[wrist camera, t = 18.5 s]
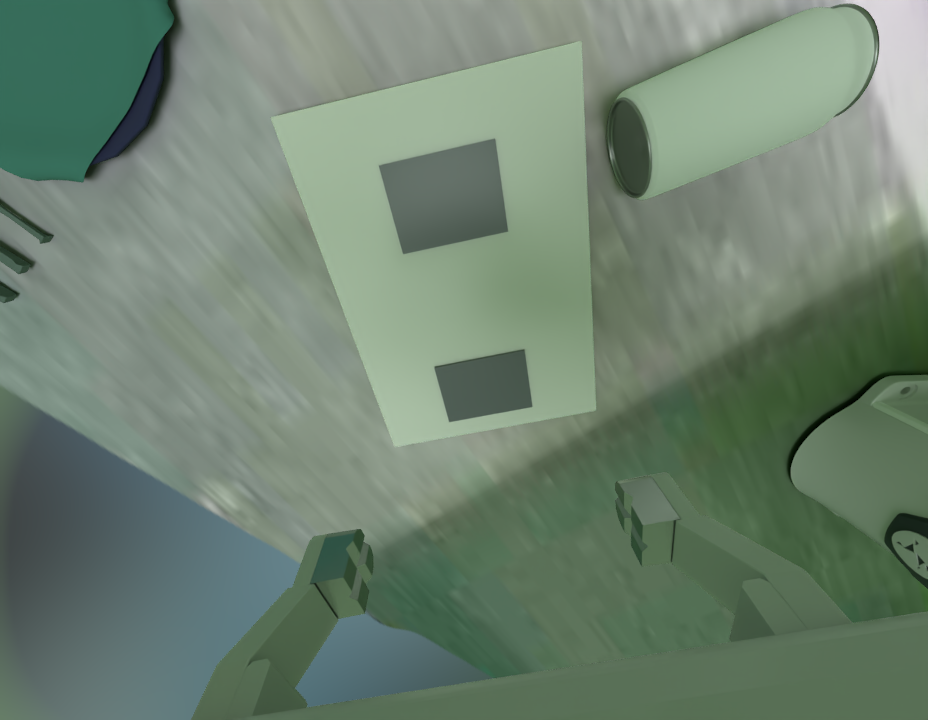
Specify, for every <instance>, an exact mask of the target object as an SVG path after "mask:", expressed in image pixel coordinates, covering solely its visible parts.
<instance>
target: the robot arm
mask: <svg viewBox="0 0 928 720" xmlns="http://www.w3.org/2000/svg"><path fill="white" fill-rule="evenodd" d="M791 479H792V482H793V484H794V486H795V487H796V488H797V489H798V490H799V491H800V492H802V493H803V494H805V495H807V496H809V497H810V498H812V499H814V500H816V501H817V502H819V503H821V504H822V505H824V506H825V507H826V508H828V509H829V510H830V511H831V512H833V513H834V514H835V515H837V516H840V517H842V518H843V519H845V520H846V521H848V522H849V523H850V524H852V525H853V526H854V527H856V528H857V529H859V530H860V531H861V532H863V533H864V534H865V535H867V536H868V537H870V538H871V539H872V540H874V541H875V542H876V543H878V544H879V545H880V546H882V547H883V548H885V549H886V550H887V551H889V552H890V553H892V554H893V555H894V556H896V557H897V559H898V560H899V561H900V562H901V563H902V564H903V565H904V566H905V567H906V568H907V569H908V570H909V572H910V573H911V574H912V575H913V576H914V577H915V578H916V579H917V580H918V581H919V582H920V583H922V584H923V585H924V586H925V587H926V588H927V589H928V375H898V376H888V377H885V378H883V379H881V380H880V381H878V382H877V383H876V384H874V385H873V386H872V387H871V388H870V389H869V390H868V391H867V392H866V393H865V394H864V395H863V396H862V397H861V398H860V399H858V400H857V401H856V402H855V403H853V404H852V405H850V406H848V407H847V408H845V409H843V410H842V411H840V412H838V413H837V414H835V415H834V416H832V417H830V418H829V419H828V420H826V421H825V422H824V423H822V424H821V425H820V426H819V427H817V428H816V429H815V430H814V431H813V432H812V433H811V434H810V435H809V436H808V437H807V438H806V440H805V441H804V442H803V443H802V445H801V446H800V448H799V449H798V451H797V452H796V454H795V456H794V459H793V462H792V465H791ZM615 491H616V493H617V495H618V498H617V499H616V500H615V502H616V511H617V515H618V518H619V521H620V524H621V526H622V528H623V530H624V532H625V533H627V534H628V535H629V536H631V546H632V548H633V550H634V552H635V554H636V556H637V558H638V560H639V562H640V564H641V566H642V567H644V566H651V565H659V564H666V563H672V565H674V566H675V567H676V568H677V569H678V570H680V571H681V572H682V573H683V574H685V575H686V576H687V577H688V578H690V579H691V580H692V581H693V582H695V583H696V584H697V585H698V586H700V587H701V588H702V589H703V590H705V591H706V592H707V593H708V594H709V595H711V596H712V597H713V598H714V599H716V600H717V601H718V602H719V603H721V604H722V605H723V606H724V607H726V608H727V609H728V610H729V611H731V612H732V613H733V614H734V615H735V617H734V621H733V625H732V629H731V634H730V638H729V639H730V641H731V642H728V643H722V644H715V645H709V646H702V647H696V648H690V649H683V650H677V651H670V652H664V653H657V654H651V655H644V656H637V657H631V658H624V659H618V660H611V661H605V662H598V663H592V664H585V665H579V666H572V667H566V668H559V669H553V670H546V671H540V672H533V673H527V674H520V675H514V676H507V677H501V678H494V679H488V680H482V681H475V682H469V683H462V684H456V685H450V686H443V687H436V688H430V689H423V690H417V691H411V692H404V693H397V694H391V695H385V696H378V697H372V698H365V699H359V700H353V701H346V702H340V703H333V704H326V705H320V706H314V707H307V703H306V700H305V699H304V698H303V697H302V696H301V694H300V693H299V692H298V691H297V690H296V689H295V687H296V685H297V684H298V683H299V681H300V679H301V678H302V676H303V675H304V673H305V672H306V670H307V669H308V667H309V665H310V664H311V662H312V661H313V659H314V657H315V656H316V655H317V653H318V651H319V650H320V648H321V647H322V645H323V644H324V642H325V641H326V639H327V637H328V636H329V634H330V633H331V631H332V630H333V628H334V627H335V625H336V623H337V622H338V619H340V618H344V617H350V616H355V615H360V614H365V610H366V605H367V600H368V595H369V589H368V588H367V586H366V583H367V582H368V581H369V579H370V578H371V577H372V573H373V553H372V550H371V547H370V545H369V544H367V543H365V542H363V541H364V534H363V532H362V530H361V529H356V530H350V531H343V532H337V533H330V534H325V535H319V536H314V537H313V538H312V539H311V540H310V542H309V544H308V547H307V549H306V552H305V555H304V557H303V560H302V563H301V565H300V568H299V571H298V573H297V576H296V579H295V582H294V584H293V587H292V588H288V589H287V590H286V591H285V592H284V593H283V594H282V595H281V597H279V598H278V600H277V601H276V602H275V603H274V604H273V605H272V606H271V607H270V608H269V609H268V610H267V611H266V612H265V614H264V615H263V616H262V617H261V618H260V619H259V620H258V621H257V622H256V623H255V624H254V625H253V627H252V628H251V629H250V630H249V631H248V632H247V633H246V634H245V635H244V636H243V637H242V639H241V640H240V641H239V642H238V643H237V644H236V645H235V646H234V647H233V648H232V649H231V650H230V651H229V653H228V654H227V655H226V656H225V657H224V658H223V659H222V660H221V661H220V662H219V663H218V665H217V666H216V668H215V670H214V672H213V674H212V676H211V679H210V681H209V683H208V685H207V687H206V689H205V691H204V693H203V696H202V698H201V700H200V702H199V705H198V706H197V708H196V710H195V713H194V715H193V717H192V719H191V720H928V612H922V613H915V614H909V615H902V616H896V617H889V618H883V619H876V620H870V621H864V622H857V623H852V622H851V621H850V620H849V619H848V618H847V616H846V615H845V614H844V613H843V612H842V611H841V610H840V609H839V608H838V606H837V605H836V604H835V603H834V602H833V601H832V600H831V599H830V598H829V596H828V595H827V594H826V593H825V592H824V591H823V590H822V589H821V588H820V586H819V585H818V584H817V583H816V582H815V581H814V580H813V579H812V578H811V576H810V575H809V574H808V573H807V572H806V571H805V570H804V569H802V568H800V567H799V566H797V565H795V564H793V563H791V562H790V561H788V560H786V559H784V558H782V557H781V556H779V555H777V554H775V553H773V552H771V551H770V550H768V549H766V548H764V547H762V546H761V545H759V544H757V543H755V542H753V541H751V540H750V539H748V538H746V537H744V536H742V535H741V534H739V533H737V532H735V531H733V530H731V529H730V528H728V527H726V526H724V525H722V524H721V523H719V522H717V521H715V520H713V519H712V518H710V517H708V516H706V515H705V516H700V515H699V513H698V512H697V511H696V509H695V508H694V507H693V505H692V504H691V503H690V501H689V500H688V499H687V497H686V496H685V495H684V493H683V492H682V491H681V489H680V488H679V487H678V485H677V484H676V483H675V481H674V480H673V479H672V477H671V476H670V475H669V474H668V473H666V472H664V473H659V474H653V475H649V476H648V475H647V476H641V477H636V478H631V479H626V480H621V481H616V483H615Z"/></svg>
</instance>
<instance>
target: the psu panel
mask: <svg viewBox="0 0 928 720" xmlns="http://www.w3.org/2000/svg"><path fill="white" fill-rule="evenodd" d="M271 120H272V123H273V125H274V128H275V131H276V133H277V136H278V139H279V141H280V144H281V147H282V149H283V152H284V155H285V157H286V160H287V163H288V165H289V168H290V171H291V173H292V176H293V179H294V181H295V184H296V187H297V189H298V192H299V194H300V197H301V200H302V202H303V205H304V208H305V210H306V213H307V216H308V218H309V221H310V224H311V226H312V229H313V232H314V234H315V237H316V240H317V242H318V245H319V248H320V250H321V253H322V256H323V258H324V261H325V264H326V266H327V269H328V271H329V274H330V277H331V279H332V282H333V285H334V287H335V290H336V293H337V295H338V298H339V301H340V303H341V306H342V309H343V311H344V314H345V317H346V319H347V322H348V325H349V327H350V330H351V333H352V335H353V338H354V341H355V343H356V346H357V349H358V351H359V354H360V356H361V359H362V362H363V364H364V367H365V370H366V372H367V375H368V378H369V380H370V383H371V386H372V388H373V391H374V394H375V396H376V399H377V402H378V404H379V407H380V410H381V412H382V415H383V418H384V420H385V423H386V426H387V428H388V431H389V433H390V436H391V439H392V441H393V444H394V447H398V446H403V445H409V444H414V443H420V442H426V441H431V440H437V439H442V438H448V437H453V436H459V435H464V434H470V433H475V432H481V431H487V430H492V429H498V428H503V427H509V426H514V425H520V424H525V423H531V422H536V421H542V420H547V419H553V418H559V417H564V416H570V415H575V414H581V413H586V412H592V411H596V390H595V365H594V340H593V315H592V290H591V265H590V240H589V215H588V190H587V165H586V140H585V115H584V90H583V65H582V41H579V42H575V43H571V44H567V45H563V46H559V47H555V48H550V49H546V50H542V51H538V52H534V53H530V54H526V55H522V56H518V57H514V58H510V59H506V60H502V61H498V62H494V63H490V64H485V65H481V66H477V67H473V68H469V69H465V70H461V71H457V72H453V73H449V74H445V75H441V76H437V77H433V78H429V79H425V80H420V81H416V82H412V83H408V84H404V85H400V86H396V87H392V88H388V89H384V90H380V91H376V92H372V93H368V94H364V95H360V96H355V97H351V98H347V99H343V100H339V101H335V102H331V103H327V104H323V105H319V106H315V107H311V108H307V109H303V110H299V111H295V112H290V113H286V114H282V115H278V116H274V117H271Z"/></svg>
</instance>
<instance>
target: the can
mask: <svg viewBox="0 0 928 720" xmlns="http://www.w3.org/2000/svg"><path fill="white" fill-rule="evenodd" d="M878 54H879V35H878V30H877V26H876V24H875V21H874V19H873V18H872V16H871V15H870V14H869V12H868V11H866V10H865V9H864V8H862V7H861V6H858V5H855V4H839V5H836V6H833V7H831V8H825V7H819V8H812V9H808V10H805V11H802V12H799V13H797V14H795V15H792V16H790V17H787V18H785V19H783V20H781V21H778V22H776V23H774V24H771V25H769V26H767V27H764V28H762V29H760V30H758V31H755V32H753V33H751V34H749V35H746V36H744V37H742V38H740V39H737V40H735V41H733V42H731V43H728V44H726V45H724V46H722V47H719V48H717V49H715V50H713V51H710V52H708V53H706V54H704V55H701V56H699V57H697V58H695V59H692V60H690V61H688V62H686V63H683V64H681V65H679V66H677V67H674V68H672V69H670V70H668V71H665V72H663V73H661V74H659V75H657V76H654V77H652V78H650V79H648V80H646V81H643V82H641V83H639V84H637V85H635V86H632V87H630V88H628V89H626V90H624V91H623V92H621V93H620V94H619V96H618V97H617V99H616V101H615V102H614V103H613V105H612V107H611V109H610V112H609V117H608V124H607V144H608V151H609V157H610V161H611V165H612V168H613V171H614V174H615V177H616V179H617V181H618V183H619V185H620V186H621V188H622V189H623V191H624V192H625V193H626V194H627V195H628V196H630V197H632V198H636V199H638V200H646V199H649V198H651V197H654V196H657V195H659V194H662V193H664V192H667V191H670V190H672V189H675V188H677V187H680V186H682V185H685V184H687V183H690V182H692V181H695V180H697V179H700V178H703V177H705V176H708V175H710V174H713V173H715V172H718V171H720V170H723V169H725V168H728V167H730V166H733V165H735V164H738V163H740V162H743V161H745V160H748V159H750V158H753V157H755V156H758V155H760V154H763V153H765V152H768V151H770V150H773V149H775V148H778V147H780V146H782V145H785V144H787V143H790V142H792V141H795V140H797V139H799V138H802V137H804V136H806V135H809V134H811V133H813V132H815V131H816V130H818V129H819V128H821V127H822V126H824V125H825V124H826V123H827V122H828V121H830V120H831V119H832V118H833V117H836V116H838V115H840V114H841V113H843V112H845V111H846V110H847V109H849V108H850V107H851V106H852V105H853V104H854V103H855V102H856V101H857V100H858V99H859V98H860V96H861V95H862V94H863V92H864V91H865V89H866V88H867V86H868V84H869V82H870V80H871V78H872V76H873V73H874V71H875V68H876V64H877V60H878Z"/></svg>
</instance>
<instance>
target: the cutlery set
mask: <svg viewBox="0 0 928 720" xmlns="http://www.w3.org/2000/svg"><path fill="white" fill-rule="evenodd" d="M173 20H174V15H173V14H172V12H171V10H170V8H169V6H168V0H0V168H2V169H4V170H5V171H7V172H10V173H12V174H14V175H17V176H19V177H21V178H26V179H31V180H36V181H42V180H69V181H76V182H83V181H84V176H85V173H86V171H87V169H88V166H91V165H94V164H97V163H100V162H102V161H105V160H108V159H111V158H114V157H117V156H119V154H120V153H121V152H122V151H123V150H124V149H125V148H126V147H127V146H128V145H129V144H130V143H131V142H132V141H133V140H134V139H135V138H136V137H137V136H138V135H139V134H140V133H141V132H142V131H143V130H144V129H145V127H146V126H147V125H148V122H149V120H150V117H151V114H152V111H153V108H154V105H155V102H156V99H157V96H158V94H159V91H160V88H161V85H162V82H163V79H164V35H165V33H166V32H167V31H168V30H169V28H170V27H171V26H172V24H173ZM0 212H1V213H2V214H4V215H6V216H7V217H9V218H10V219H12V220H13V221H14V222H16V223H17V224H18V225H20V226H21V227H22V228H24V229H25V230H27V231H28V232H29V233H31V234H32V235H33V236H35V237H36V238H37V239H39V241H40V244H41V243H47V242H50V240H51V238H52V237H53V235H45V234H44V233H42V232H41V231H39V230H37V229H36V228H34V227H33V226H31V225H30V224H28V223H27V222H25V221H23V220H22V219H20V218H19V217H17V216H16V215H14V214H13V213H11V212H10V211H9V210H7V209H6V208H5V207H3V206H2V205H1V204H0ZM0 261H1V262H2V263H4V264H5V265H6V266H8V267H9V268H11V269H12V270H14V271H15V272H16V273H18V274H21V273H25V272H27V271H28V269H29V267H30V265H31V264H29V263H27V262H26V261H24V260H22V259H21V258H19V257H18V256H16V255H14V254H13V253H11V252H9V251H8V250H6V249H4V248H3V247H1V246H0ZM16 295H17V294H15V293H14V292H12V291H11V290H9V289H7V288H5V287H3V286H2V285H0V302H2V303H6V302H9V301H12V300H14V299H15V297H16Z"/></svg>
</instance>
